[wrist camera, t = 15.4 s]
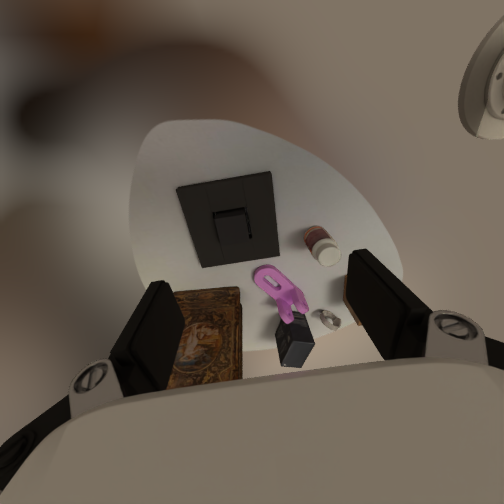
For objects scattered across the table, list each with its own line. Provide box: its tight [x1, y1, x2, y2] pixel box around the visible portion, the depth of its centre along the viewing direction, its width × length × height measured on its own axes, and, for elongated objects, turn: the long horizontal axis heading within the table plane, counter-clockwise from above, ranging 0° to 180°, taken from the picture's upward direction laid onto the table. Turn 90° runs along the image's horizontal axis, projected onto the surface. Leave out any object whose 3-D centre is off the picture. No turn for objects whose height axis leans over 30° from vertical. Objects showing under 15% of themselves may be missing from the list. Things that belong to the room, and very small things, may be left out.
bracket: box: [254, 265, 309, 324], centre depth 47 cm, size 13×6×7 cm, turn 43°
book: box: [166, 287, 242, 390], centre depth 40 cm, size 16×6×25 cm, turn 94°
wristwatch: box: [320, 311, 341, 331], centre depth 53 cm, size 3×5×5 cm, turn 62°
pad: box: [214, 207, 250, 246], centre depth 40 cm, size 5×5×4 cm
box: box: [275, 311, 315, 368], centre depth 52 cm, size 9×6×10 cm, turn 166°
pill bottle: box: [304, 226, 341, 266], centre depth 40 cm, size 5×5×8 cm
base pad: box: [176, 171, 280, 268], centre depth 40 cm, size 16×16×2 cm
